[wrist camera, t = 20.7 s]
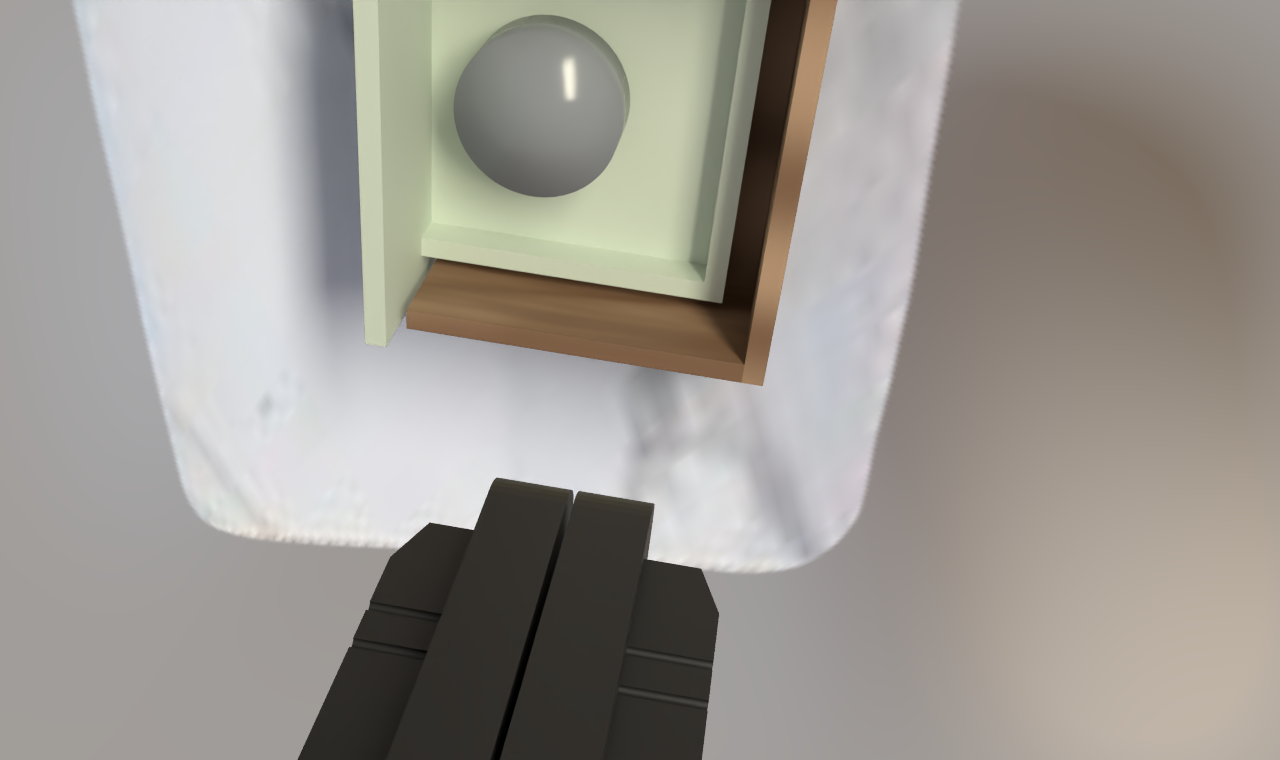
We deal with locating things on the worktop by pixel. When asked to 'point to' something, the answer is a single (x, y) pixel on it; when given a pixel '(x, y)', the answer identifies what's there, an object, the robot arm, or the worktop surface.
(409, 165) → the tray
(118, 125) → the worktop surface
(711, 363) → the cubby
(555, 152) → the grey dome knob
